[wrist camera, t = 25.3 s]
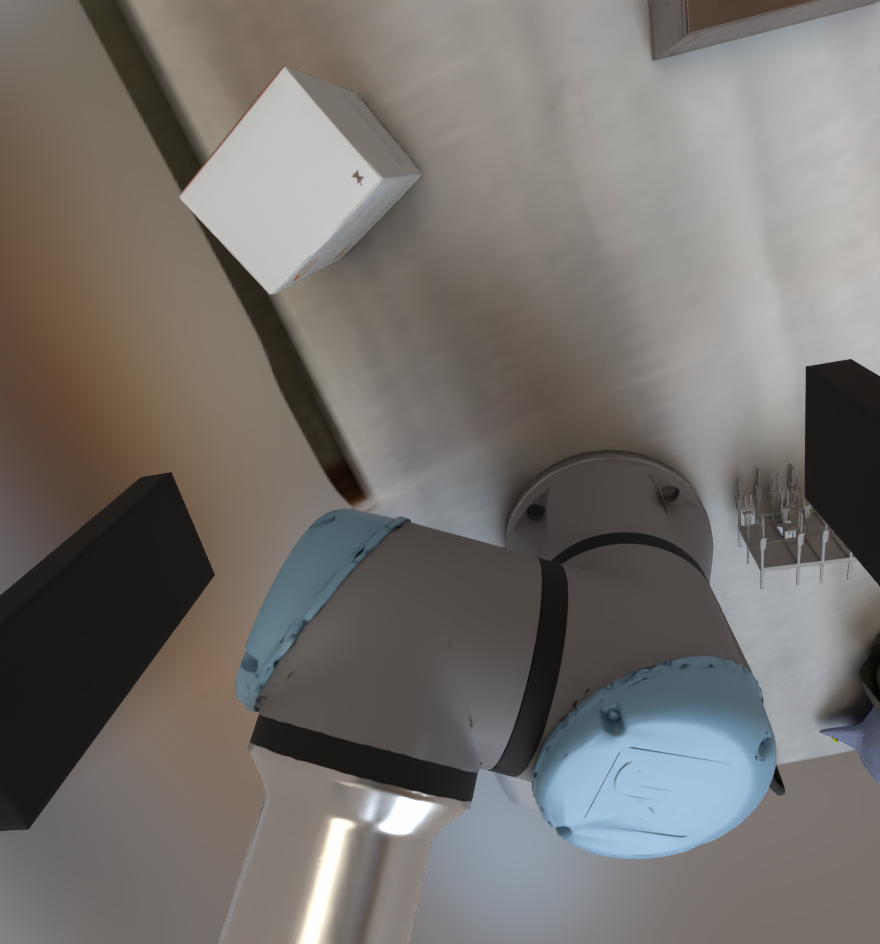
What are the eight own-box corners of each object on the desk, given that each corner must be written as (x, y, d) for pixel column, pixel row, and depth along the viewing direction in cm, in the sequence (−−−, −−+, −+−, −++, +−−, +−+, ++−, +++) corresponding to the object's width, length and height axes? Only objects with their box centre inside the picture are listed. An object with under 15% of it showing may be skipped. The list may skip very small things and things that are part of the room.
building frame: (850, 454, 46) (844, 524, 49) (729, 471, 47) (730, 538, 50) (896, 502, 40) (886, 577, 43) (758, 520, 42) (758, 592, 45)
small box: (354, 89, 40) (284, 59, 28) (425, 174, 41) (387, 179, 30) (268, 187, 43) (173, 197, 31) (338, 263, 44) (272, 300, 32)
